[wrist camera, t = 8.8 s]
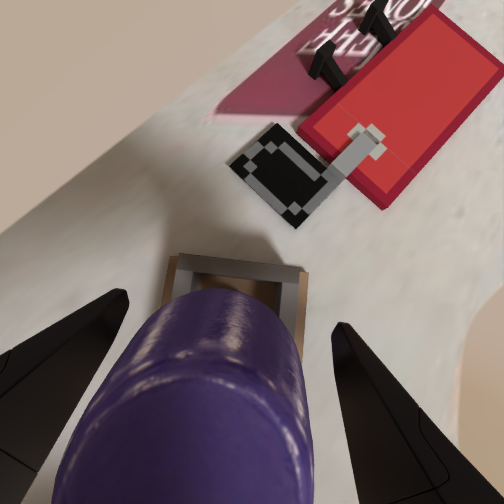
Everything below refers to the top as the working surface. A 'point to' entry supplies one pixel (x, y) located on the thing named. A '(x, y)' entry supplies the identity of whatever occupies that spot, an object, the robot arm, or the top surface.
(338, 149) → the red board with handle
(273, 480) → the toy lamp
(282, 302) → the mount board
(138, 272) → the top surface
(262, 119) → the top surface
